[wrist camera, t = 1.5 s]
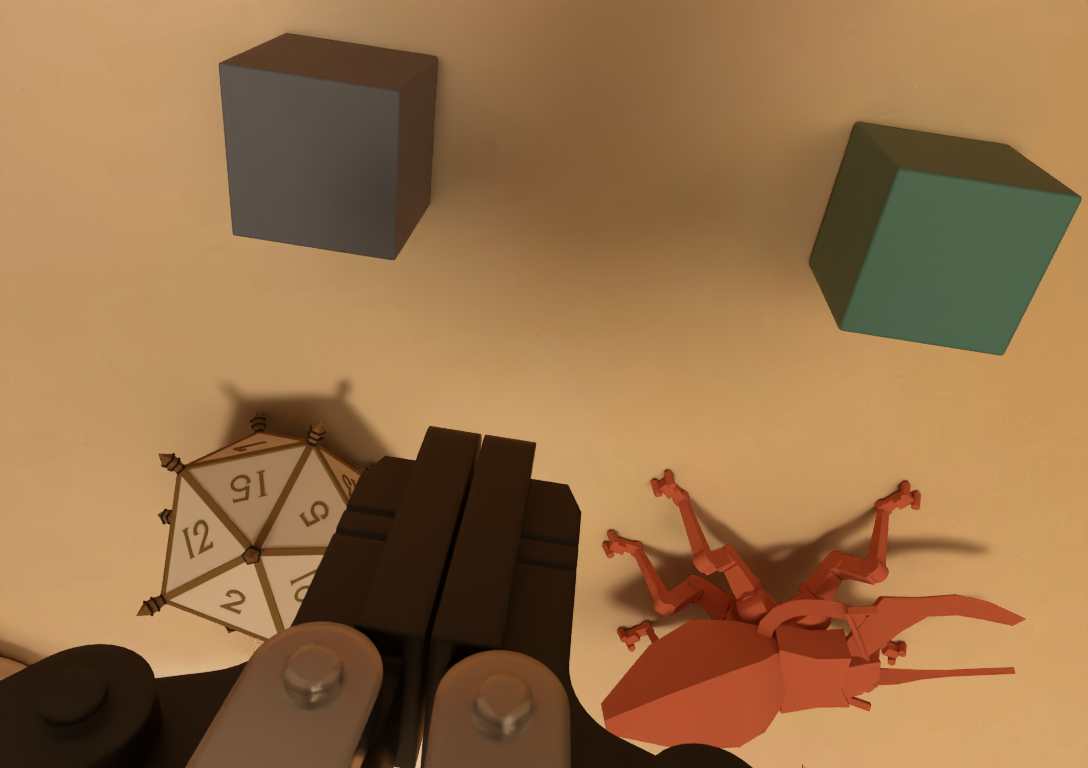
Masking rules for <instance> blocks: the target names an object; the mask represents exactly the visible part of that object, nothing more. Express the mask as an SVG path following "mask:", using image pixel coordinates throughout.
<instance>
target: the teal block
mask: <svg viewBox="0 0 1088 768" xmlns="http://www.w3.org/2000/svg"><path fill="white" fill-rule="evenodd" d="M1080 202H1081V196H1079V195H1078V194H1076V193H1075V192H1074V191H1072V190H1071V189H1069V188H1068V187H1067V186H1065V185H1064V184H1062V183H1061V182H1060V181H1058V180H1057V179H1055V178H1054V177H1052V176H1051V175H1050V174H1048V173H1047V172H1045V171H1044V170H1043V169H1041V168H1040V167H1038V166H1037V165H1036V164H1034V163H1033V162H1031V161H1030V160H1028V159H1027V158H1026V157H1024V156H1023V155H1021V154H1020V153H1019V152H1017V151H1016V150H1014V149H1013V148H1012V147H1010V146H1008V145H1002V144H995V143H989V142H982V141H976V140H970V139H963V138H957V137H950V136H944V135H937V134H931V133H924V132H918V131H911V130H905V129H899V128H892V127H886V126H879V125H873V124H866V123H860V122H859V123H856V124H855V126H854V129H853V132H852V135H851V138H850V141H849V144H848V147H847V150H846V153H845V156H844V159H843V163H842V166H841V169H840V172H839V175H838V178H837V181H836V184H835V187H834V190H833V193H832V196H831V199H830V202H829V205H828V208H827V211H826V214H825V217H824V220H823V223H822V226H821V229H820V232H819V235H818V238H817V241H816V244H815V247H814V250H813V253H812V256H811V260H810V263H809V264H810V267H811V269H812V271H813V273H814V276H815V278H816V280H817V282H818V284H819V286H820V289H821V291H822V293H823V295H824V297H825V299H826V302H827V304H828V306H829V308H830V310H831V313H832V315H833V317H834V319H835V321H836V323H837V326H838V328H839V329H840V330H842V331H848V332H855V333H861V334H867V335H874V336H880V337H886V338H893V339H899V340H905V341H912V342H918V343H924V344H931V345H937V346H943V347H950V348H956V349H962V350H969V351H975V352H982V353H988V354H994V355H1003V354H1004V353H1005V351H1006V349H1007V347H1008V345H1009V343H1010V341H1011V339H1012V337H1013V335H1014V333H1015V331H1016V329H1017V327H1018V325H1019V323H1020V321H1021V319H1022V317H1023V315H1024V313H1025V311H1026V309H1027V307H1028V305H1029V303H1030V301H1031V299H1032V297H1033V295H1034V293H1035V291H1036V289H1037V287H1038V285H1039V283H1040V282H1041V280H1042V278H1043V276H1044V274H1045V272H1046V270H1047V268H1048V266H1049V264H1050V262H1051V260H1052V258H1053V256H1054V254H1055V252H1056V250H1057V248H1058V246H1059V244H1060V242H1061V240H1062V238H1063V236H1064V234H1065V232H1066V230H1067V228H1068V226H1069V224H1070V222H1071V220H1072V218H1073V216H1074V214H1075V212H1076V210H1077V208H1078V206H1079V204H1080Z"/></svg>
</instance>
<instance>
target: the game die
mask: <svg viewBox="0 0 1088 768" xmlns="http://www.w3.org/2000/svg"><path fill="white" fill-rule="evenodd" d="M250 422H251V423H252V426H251V428H253V429H254V431H255V433H254V434H252V435H249V436H247V437H245V438H243V439H241V440H238V441H236V442H234V443H232V444H230V445H228V446H225V447H223V448H221V449H219V450H217V451H215V452H212V453H210V454H208V455H206V456H204V457H201V458H199V459H197V460H195V461H193V462H191V463H188V464H186V465H184V464H182V462H181V461H180V458H177V457H176V456H175V454H174V453H173V454H158V455H159V457H160V460H161V463H162V465H161V466H162V467H165V468H168V469H167V470H169V471H175V472H176V473H177V478H176V485H175V493H174V500H173V508H172V510H168V509H164V511H163V512H161V513H159V514H158V516H159V517H160V519H161V520H162V523H163V524H165V523H168V524H169V525H170V530H169V538H168V545H167V553H166V560H165V568H164V576H163V583H162V591H161V595H160V596H158V597H154V598H153V597H150V600H148V601H143V605H142V607H141V609H140V610H139V612H138V614H137V616H143V615H151V616H153V614H154V613H155V612H157V611H158V612H159V611H160V608H161V607H162V606H163V605H165V604H168V605H171V606H174V607H176V608H179V609H181V610H184V611H187V612H189V613H192V614H194V615H197V616H200V617H202V618H205V619H207V620H210V621H213V622H215V623H218V624H220V625H223V626H225V627H226V629H227V631H228V633H231V632H233V631H238V632H241V633H244V634H246V635H249V636H251V637H254V638H257V639H259V640H262V641H264V642H265V641H267V640H268V639H269V638H271V637H272V636H273V635H275V634H277V633H279V632H281V631H282V630H285V629H287V628H290V626H291V624H292V622H293V620H294V619H295V617H296V614H297V612H298V610H299V608H300V606H301V603H302V601H303V599H304V597H305V595H306V593H307V590H308V588H309V586H310V584H311V582H312V579H313V577H314V575H315V573H316V571H317V569H318V566H319V564H320V562H321V560H322V558H323V555H324V553H325V551H326V549H327V547H328V544H329V542H330V540H331V538H332V536H333V534H334V533H335V532H336V527H337V525H338V523H339V520H340V518H341V516H342V514H343V512H344V510H346V507H347V503H348V501H349V499H350V496H351V494H352V492H353V490H354V488H355V486H356V483H357V481H358V479H359V477H360V476H361V475H363V474H364V473H365V472H366V471H367V470H369V469H370V468H371V467H372V466H373V464H372V465H371V467H370V468H367V469H366V471H365V472H364V473H360V472H359V471H358V470H356V469H355V468H353V467H352V466H350V465H349V464H347V463H346V462H344V461H343V460H341V459H340V458H338V457H337V456H335V455H334V454H332V453H331V452H329V451H328V450H326V449H325V448H323V447H322V446H320V445H319V444H318V441H319V440H321V439H323V437H322V436H323V434H325V433H326V432H325V431H324V428H323V425H322V421H320V422H318V423H317V424H315V425H313V426H312V425H310V431H308V439H302V438H297V437H291V436H286V435H280V434H275V433H269V432H265V431H264V429H265V426H266V423H265V418H263V417H262V416H261V415H260V414H259V413H258V412H257V413H256V414H255V416H254V417H253V419H252V420H251V421H250Z"/></svg>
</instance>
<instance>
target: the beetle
mask: <svg viewBox="0 0 1088 768" xmlns="http://www.w3.org/2000/svg"><path fill="white" fill-rule="evenodd" d="M664 477H665V478H664V479H662V480H661V481H658V480H653V481H652V482H651V485H652V488H653V491H654V494H655V496H656V497H660V496H662V494H663V493H664V495H665V496H666V497H667V498H668V499H669V498H671V497H672V498H673V501H674V503H675V504H676V505H677V506H679V508H680V512H681V515H682V518H683V522H684V525H685V528H686V532H687V535H688V538H689V541H690V545H691V548H692V551H693V555H694V557H693V559H692V560H693V563H694V565H695V567H696V568H697V570H698V571H700V572H701V573H705V574H706V575H709V574H711V573H714V572H716V571H719V572H723V571H724V574H725V576H726V578H727V580H728V582H729V585H730V587H731V589H732V591H733V593H734V595H735V596H734V595H728V594H727V593H725V592H724V591H722V590H721V589H719V588H717V587H716V586H714V585H713V584H711V583H710V582H708V581H707V580H705V579H704V578H702V577H700V576H697V575H691V576H689V577H688V579H687V580H686V581H684V582H682V583H681V584H679V585H678V586H676V587H675V588H673V589H672V590H670V591H669V592H668V590H667V589H666V587H665V585H664V584H663V582H662V581H661V579H660V577H659V576H658V574H657V572H656V571H655V569H654V567H653V566H652V564H651V562H650V561H649V559H648V557H647V556H646V554H645V552H644V551H643V549H642V546H643V545H642V543H641V542H638V541H636V542H632V541H629V540H625V539H622V538H619V537H616V535H615V533H614V531H609V532H608V533H607V535H608V538H609V540H610V542H609V543H608V542H605V543H604V544H603V545H602V546H603V548H604V551H605V553H606V555H607V557H608V558H612V557H613V556H614V553H613V552H615V553H618V554H621V555H623V553H624V551H625V552H628V553H631V555H632V556H634V557H635V558H636V560H637V562H638V565H639V567H640V569H641V571H642V574H643V576H644V578H645V581H646V583H647V585H648V587H649V590H650V592H651V594H652V597H653V599H654V601H655V602H654V605H653V606H654V609H655V610H656V611H657V612H658V613H659V614H662V615H667V614H669V615H673V614H674V613H676V612H678V611H679V610H681V609H683V608H684V607H686V606H687V605H689V604H691V603H698V602H699V603H700V604H701V606H702V607H703V608H704V609H705V610H706V611H707V612H708V613H709V614H710V615H711V616H712V617H713V619H714V620H703V619H692V620H690V621H689V622H687V623H685V624H684V625H682V626H680V627H679V628H677V629H675V630H674V631H672V632H671V633H669V634H667V635H666V636H664V637H662V638H661V639H658V637H657V636H656V634H655V633H654V629H653V628H652V627H651V625H650V624H649V623H648V622H647V621H645V622H643V623H642V624H641V625H639V626H637V627H634V628H632V629H629V630H627V631H624V630H623V629H618V631H617V633H618V635H619V637H620V639H621V641H622V642H625V643H626V645H627V647H628V649H629V651H632V652H633V651H634V650H635V646H634V644H633V643H635V642H638V641H640V637H641V636H644V635H648V636H649V638H650V640H651V642H652V644H651V645H649V647H648V648H647V649H646V650H645V651H644V653H643V654H642V655H641V656H640V657H639V659H638V660H637V661H636V662H635V663H634V665H633V666H632V667H631V668H630V669H629V671H628V672H627V673H626V674H625V675H624V677H623V678H622V679H621V680H620V681H619V683H618V684H617V685H616V686H615V688H614V689H613V690H612V691H611V692H610V694H609V695H608V696H607V697H606V698H605V700H604V701H603V702H602V703H601V706H602V711H603V716H604V721H605V726H606V730H607V731H609V732H610V733H612V734H614V735H616V736H618V737H623V738H628V739H633V740H638V741H642V742H647V743H652V744H657V745H662V746H667V747H672V746H676V745H680V744H686V743H699V744H707V745H711V746H715V747H718V748H732V747H740V746H742V745H744V744H745V743H747V742H749V741H750V740H752V739H754V738H755V737H757V736H759V735H760V734H762V733H764V732H765V731H766V729H767V728H768V726H769V725H770V723H771V722H772V720H773V719H774V717H775V716H776V714H777V713H778V711H779V710H780V712H781V714H782V713H788V712H794V711H800V710H806V709H812V708H826V707H849V704H850V705H853V706H855V707H858V708H861V709H864V710H867V711H870V708H871V703H870V702H867V701H865V700H862V699H859V698H856V697H853V696H857V695H861V694H863V693H864V692H867V693H869V692H871V691H872V690H873V689H874V688H876V687H877V686H878V685H892V684H901V683H906V682H911V681H916V680H921V679H930V678H940V677H952V676H974V675H998V674H1015V671H1014V667H1008V668H980V669H958V670H912V669H888V668H880V665H881V662H880V660H879V652H880V649H881V650H882V653H883V655H885V656H888V664H889V665H895V660H896V658H897V657H898V656H899V655H900V656H901V657H905V656H906V644H905V643H900V644H899V645H897V644H894V643H892V642H890V640H891V639H892V638H894V637H895V636H896V635H898V634H899V633H900V632H902V631H903V630H905V629H907V628H909V627H910V626H912V625H914V624H916V623H917V622H919V621H921V620H923V619H924V618H926V617H928V616H953V615H959V616H965V617H971V618H977V619H983V620H988V621H993V622H997V623H1002V624H1007V625H1011V626H1013V625H1015V624H1017V623H1019V622H1021V621H1023V620H1025V618H1023V617H1021V616H1019V615H1016V614H1014V613H1012V612H1010V611H1008V610H1006V609H1004V608H1001V607H999V606H997V605H995V604H993V603H991V602H988V601H983V600H979V599H974V598H970V597H965V596H961V595H956V594H954V595H940V596H927V597H890V596H880V597H879V598H878V599H877V600H876V601H875V603H874V604H873V605H872V606H864V607H852V606H849V605H846V604H843V603H839V602H834V601H832V599H833V597H834V595H835V593H836V591H837V589H838V587H839V585H840V583H841V580H845V579H848V578H849V579H853V580H857V581H861V582H864V583H868V584H872V585H874V584H875V583H880V582H882V581H884V580H885V579H886V578H887V576H888V573H889V571H888V568H887V567H886V552H887V537H888V522H889V515H890V514H891V512H892V510H894V509H895V508H896V507H899V508H900V509H902V508H904V507H906V506H908V505H910V504H911V508H912V509H915V510H918V509H919V508H920V499H921V494H920V493H918V492H914V493H912V494H911V493H910V484H909V483H908V482H903V483H902V486H901V490H900V491H898V492H897V493H895V494H893V495H892V496H890V497H888V498H886V499H885V500H883V501H882V500H879V501H877V502H876V504H875V507H876V508H877V509H878V511H877V515H876V520H875V525H874V529H873V534H872V539H871V543H870V548H869V553H868V557H867V560H865V559H861V558H857V557H853V556H849V555H845V554H842V553H840V552H838V551H834V552H831V553H830V554H829V555H828V556H827V557H826V558H825V559H824V561H823V562H822V563H821V564H820V565H819V567H818V568H817V569H816V570H815V571H814V573H813V574H812V575H811V576H810V577H809V579H808V580H807V581H805V582H803V583H802V584H801V585H800V586H799V588H798V589H799V595H797V596H795V597H793V598H791V599H789V600H787V601H785V602H783V603H779V604H778V603H777V602H776V601H775V600H774V599H773V598H772V597H771V596H770V595H769V594H768V593H767V592H766V591H764V590H763V589H762V588H761V582H760V580H759V579H758V578H757V577H755V576H754V574H753V573H752V572H751V571H750V569H749V568H748V567H747V566H746V564H745V563H744V562H743V560H742V559H741V558H740V557H739V555H738V554H737V553H736V551H735V550H734V549H733V548H732V547H731V546H730V545H729V544H726V545H725V546H723V547H722V548H719V549H716V550H714V551H711V550H710V548H709V546H708V544H707V541H706V539H705V537H704V535H703V532H702V530H701V528H700V525H699V523H698V521H697V519H696V516H695V514H694V512H693V509H692V507H691V505H690V503H689V500H688V499H690V497H689V495H688V493H687V492H686V491H684V492H683V491H682V490H681V489H680V488H679V487H678V486H677V485H676V484H675V481H674V478H673V475H672V472H671V471H666V472H665V473H664ZM662 492H663V493H662ZM739 598H740V600H739ZM831 617H833V618H839V619H843V620H846V621H847V622H848V623H849V625H850V627H851V630H852V631H851V632H850V633H849V634H848V635H847V637H846V636H845V634H844V630H843V629H834V630H826V629H827V628H828V627H829V625H830V623H831ZM802 768H803V764H802ZM804 768H805V767H804Z"/></svg>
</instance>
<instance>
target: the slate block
mask: <svg viewBox="0 0 1088 768" xmlns="http://www.w3.org/2000/svg"><path fill="white" fill-rule="evenodd" d="M437 63H438V59H437V57H435V56H429V55H422V54H416V53H410V52H403V51H397V50H390V49H384V48H377V47H371V46H364V45H358V44H351V43H345V42H339V41H332V40H326V39H319V38H313V37H306V36H300V35H293V34H287V33H286V34H283V35H281V36H279V37H276V38H274V39H272V40H270V41H268V42H265V43H263V44H261V45H259V46H256V47H254V48H252V49H250V50H247V51H245V52H243V53H241V54H238V55H236V56H234V57H232V58H229V59H227V60H225V61H223V62H220V63H219V73H220V85H221V97H222V109H223V121H224V133H225V145H226V158H227V170H228V182H229V194H230V206H231V218H232V230H233V235H236V236H242V237H249V238H255V239H261V240H268V241H274V242H280V243H287V244H293V245H299V246H306V247H312V248H318V249H325V250H331V251H337V252H344V253H350V254H357V255H363V256H369V257H376V258H382V259H388V260H395V259H396V258H397V256H398V254H399V253H400V251H401V250H402V248H403V246H404V245H405V243H406V242H407V240H408V238H409V237H410V235H411V233H412V232H413V230H414V229H415V227H416V225H417V224H418V222H419V221H420V219H421V217H422V216H423V214H424V213H425V211H426V209H427V208H428V206H429V204H430V191H431V173H432V155H433V136H434V118H435V100H436V81H437Z"/></svg>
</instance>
